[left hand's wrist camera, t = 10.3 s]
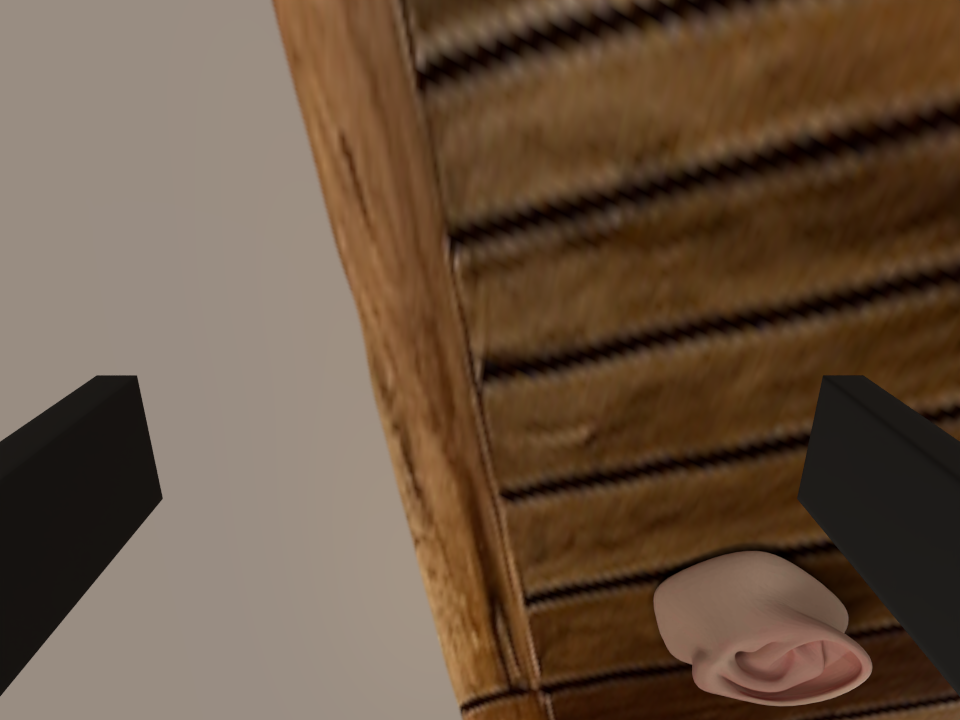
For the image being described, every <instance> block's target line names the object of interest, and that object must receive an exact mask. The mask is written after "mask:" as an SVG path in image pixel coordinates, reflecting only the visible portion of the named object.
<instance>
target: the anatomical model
mask: <svg viewBox="0 0 960 720" xmlns="http://www.w3.org/2000/svg"><path fill="white" fill-rule="evenodd" d="M654 611H655V615H656V619H657V623H658V627H659V631H660V634H661V636H662V638H663V640H664V642H665V644H666V646H667V648H668V650H669V651H670V653H671V654H672V655H673V656H674V657H676V658H677V659H679V660H681V661H684V662H686V663H689V664H692V674H693V679H694V681H695V683H696V685H697V686H698V687H699V688H700V689H702V690H704V691H707V692H710V693H714V694H718V695H723V696H727V697H731V698H735V699H740V700H744V701H748V702H753V703H758V704H764V705H773V706H794V705H802V704H809V703H814V702H819V701H823V700H827V699H830V698H834V697H836V696H839V695H841V694H844V693H846V692H848V691H850V690H852V689H854V688H855V687H857V686H859V685H860V684H861V683H863V682H864V681H865V680H866V679H867V678H868V677H869V676H870V674H871V672H872V662H871V660H870V657H869V656H868V654H867V653H866V652H865V650H864V649H863V648H862V647H861V646H860V645H859V644H858V643H857V642H855V641H854V640H853V639H851V638H850V637H848V636H847V635H846V634H844V633H845V631H846V629H847V626H848V613H847V610H846V608H845V607H844V605H843V604H842V603H841V602H840V600H839V599H838V598H837V597H836V596H835V595H834V594H833V593H832V592H831V591H829V590H828V589H827V588H826V587H825V586H824V585H823V584H821V583H820V582H819V581H817V580H816V579H815V578H814V577H812V576H811V575H809V574H808V573H806V572H805V571H804V570H802V569H801V568H799V567H797V566H796V565H794V564H793V563H791V562H789V561H787V560H785V559H783V558H781V557H779V556H776V555H774V554H771V553H767V552H761V551H742V552H735V553H730V554H725V555H722V556H718V557H715V558H711V559H709V560H706V561H703V562H701V563H698V564H696V565H693V566H691V567H689V568H686V569H684V570H682V571H680V572H678V573H676V574H674V575H673V576H671V577H669V578H667V579H666V580H665V581H664V582H662V583H661V584H660V585H659V586H658V588H657V589H656V591H655V594H654Z"/></svg>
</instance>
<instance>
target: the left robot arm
mask: <svg viewBox="0 0 960 720" xmlns="http://www.w3.org/2000/svg"><path fill="white" fill-rule="evenodd" d="M162 499H163V498H162V493H161V488H160V484H159V479H158V474H157V469H156V464H155V460H154V455H153V450H152V445H151V440H150V436H149V431H148V426H147V421H146V417H145V412H144V407H143V402H142V398H141V393H140V388H139V383H138V378H137V376H95V377H94V378H93V379H91V380H90V381H88V382H87V383H85V384H84V385H82V386H81V387H79V388H78V389H76V390H75V391H74V392H72V393H71V394H69V395H68V396H66V397H65V398H63V399H62V400H60V401H59V402H58V403H56V404H55V405H53V406H52V407H50V408H49V409H47V410H46V411H44V412H43V413H42V414H40V415H39V416H37V417H36V418H34V419H33V420H31V421H30V422H28V423H27V424H25V425H24V426H23V427H21V428H20V429H18V430H17V431H15V432H14V433H12V434H11V435H9V436H8V437H6V438H5V439H4V440H2V441H1V442H0V696H1V695H2V694H3V692H4V691H5V690H6V689H7V687H8V686H9V685H10V684H11V683H12V681H13V680H14V679H15V678H16V676H17V675H18V674H19V673H20V672H21V670H22V669H23V668H24V667H25V665H26V664H27V663H28V662H29V661H30V659H31V658H32V657H33V656H34V655H35V653H36V652H37V651H38V650H39V648H40V647H41V646H42V645H43V644H44V642H45V641H46V640H47V639H48V638H49V636H50V635H51V634H52V633H53V631H54V630H55V629H56V628H57V627H58V625H59V624H60V623H61V622H62V620H63V619H64V618H65V617H66V616H67V614H68V613H69V612H70V611H71V610H72V608H73V607H74V606H75V605H76V604H77V602H78V601H79V600H80V599H81V597H82V596H83V595H84V594H85V593H86V591H87V590H88V589H89V588H90V586H91V585H92V584H93V583H94V582H95V580H96V579H97V578H98V577H99V576H100V574H101V573H102V572H103V571H104V569H105V568H106V567H107V566H108V565H109V563H110V562H111V561H112V560H113V559H114V557H115V556H116V555H117V554H118V552H119V551H120V550H121V549H122V548H123V546H124V545H125V544H126V543H127V541H128V540H129V539H130V538H131V537H132V535H133V534H134V533H135V532H136V531H137V529H138V528H139V527H140V526H141V524H142V523H143V522H144V521H145V520H146V518H147V517H148V516H149V515H150V513H151V512H152V511H153V510H154V509H155V507H156V506H157V505H158V504H159V503H160V501H161V500H162ZM797 499H798V500H799V501H800V503H801V504H802V505H803V506H804V507H805V509H806V510H807V511H808V512H809V514H810V515H811V516H812V517H813V518H814V520H815V521H816V522H817V523H818V524H819V526H820V527H821V528H822V529H823V531H824V532H825V533H826V534H827V535H828V537H829V538H830V539H831V540H832V541H833V543H834V544H835V545H836V546H837V548H838V549H839V550H840V551H841V552H842V554H843V555H844V556H845V557H846V559H847V560H848V561H849V562H850V563H851V565H852V566H853V567H854V568H855V569H856V571H857V572H858V573H859V574H860V576H861V577H862V578H863V579H864V580H865V582H866V583H867V584H868V585H869V586H870V588H871V589H872V590H873V591H874V593H875V594H876V595H877V596H878V597H879V599H880V600H881V601H882V602H883V604H884V605H885V606H886V607H887V608H888V610H889V611H890V612H891V613H892V614H893V616H894V617H895V618H896V619H897V621H898V622H899V623H900V624H901V625H902V627H903V628H904V629H905V630H906V631H907V633H908V634H909V635H910V636H911V638H912V639H913V640H914V641H915V642H916V644H917V645H918V646H919V647H920V649H921V650H922V651H923V652H924V653H925V655H926V656H927V657H928V658H929V659H930V661H931V662H932V663H933V664H934V666H935V667H936V668H937V669H938V670H939V672H940V673H941V674H942V675H943V676H944V678H945V679H946V680H947V681H948V683H949V684H950V685H951V686H952V687H953V689H954V690H955V691H956V692H957V694H958V695H959V696H960V442H959V441H958V440H956V439H955V438H954V437H952V436H951V435H949V434H948V433H946V432H945V431H943V430H942V429H940V428H939V427H938V426H936V425H935V424H933V423H932V422H930V421H929V420H927V419H926V418H924V417H923V416H921V415H920V414H919V413H917V412H916V411H914V410H913V409H911V408H910V407H908V406H907V405H905V404H904V403H903V402H901V401H900V400H898V399H897V398H895V397H894V396H892V395H891V394H889V393H888V392H886V391H885V390H884V389H882V388H881V387H879V386H878V385H876V384H875V383H873V382H872V381H870V380H869V379H868V378H866V377H865V376H823V378H822V383H821V388H820V393H819V398H818V402H817V407H816V412H815V417H814V421H813V426H812V431H811V436H810V440H809V445H808V450H807V455H806V460H805V464H804V469H803V474H802V479H801V483H800V488H799V493H798V498H797Z"/></svg>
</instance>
